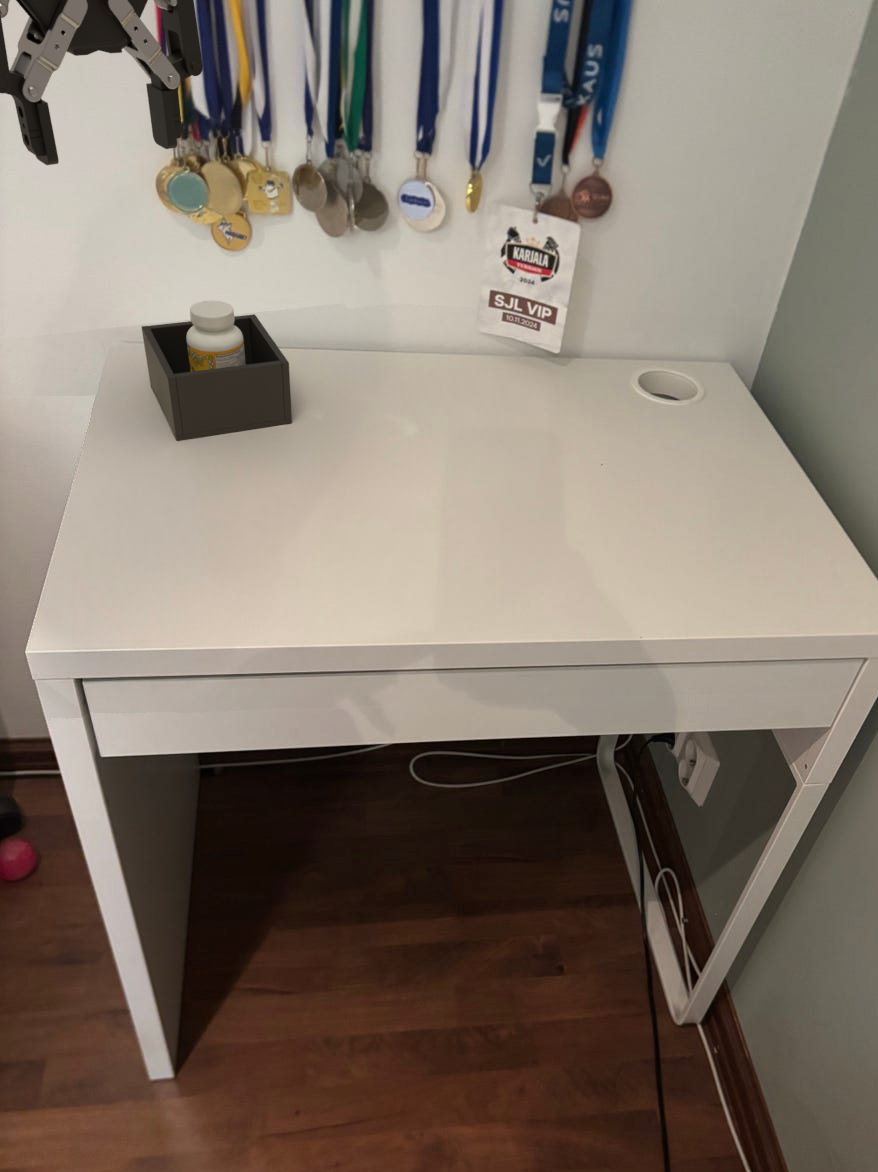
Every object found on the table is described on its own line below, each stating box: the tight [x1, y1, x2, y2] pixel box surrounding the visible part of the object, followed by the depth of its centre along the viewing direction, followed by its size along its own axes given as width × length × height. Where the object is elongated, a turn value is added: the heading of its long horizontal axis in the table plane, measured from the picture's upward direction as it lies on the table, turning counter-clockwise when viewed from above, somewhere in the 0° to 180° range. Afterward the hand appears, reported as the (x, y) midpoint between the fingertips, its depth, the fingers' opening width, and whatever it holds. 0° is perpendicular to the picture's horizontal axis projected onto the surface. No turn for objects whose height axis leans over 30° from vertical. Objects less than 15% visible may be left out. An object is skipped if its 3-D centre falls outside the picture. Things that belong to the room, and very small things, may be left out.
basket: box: [141, 313, 293, 441], centre depth 95 cm, size 11×11×6 cm
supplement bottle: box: [186, 300, 246, 372], centre depth 93 cm, size 5×5×10 cm
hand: (108, 153), depth 65 cm, fingers open, 8 cm apart
